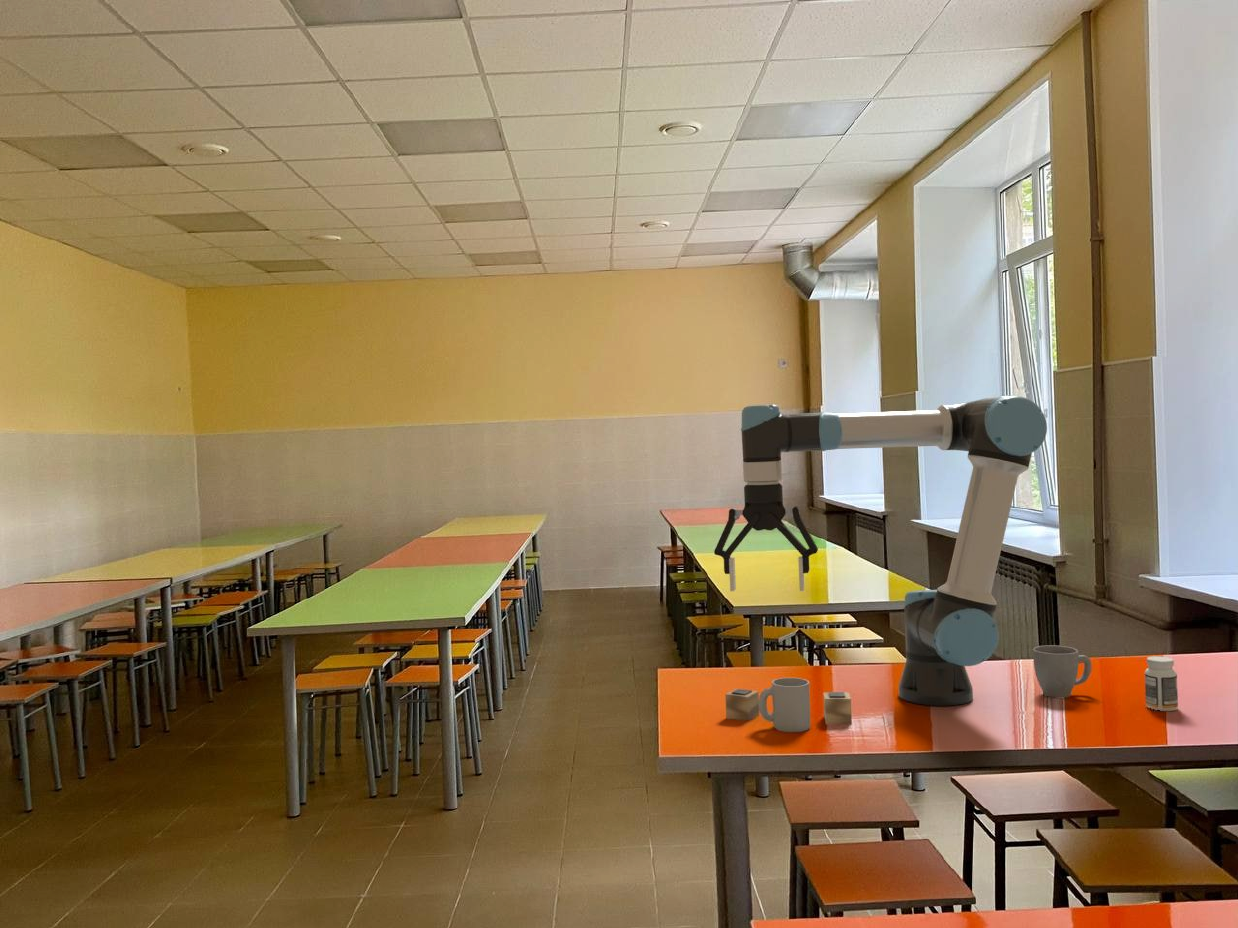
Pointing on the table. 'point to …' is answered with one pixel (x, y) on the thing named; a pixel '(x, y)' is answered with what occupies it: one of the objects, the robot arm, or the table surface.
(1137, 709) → the table surface
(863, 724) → the table surface
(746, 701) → the oak block
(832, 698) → the oak block
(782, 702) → the cup
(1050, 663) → the mug
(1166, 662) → the pill bottle
